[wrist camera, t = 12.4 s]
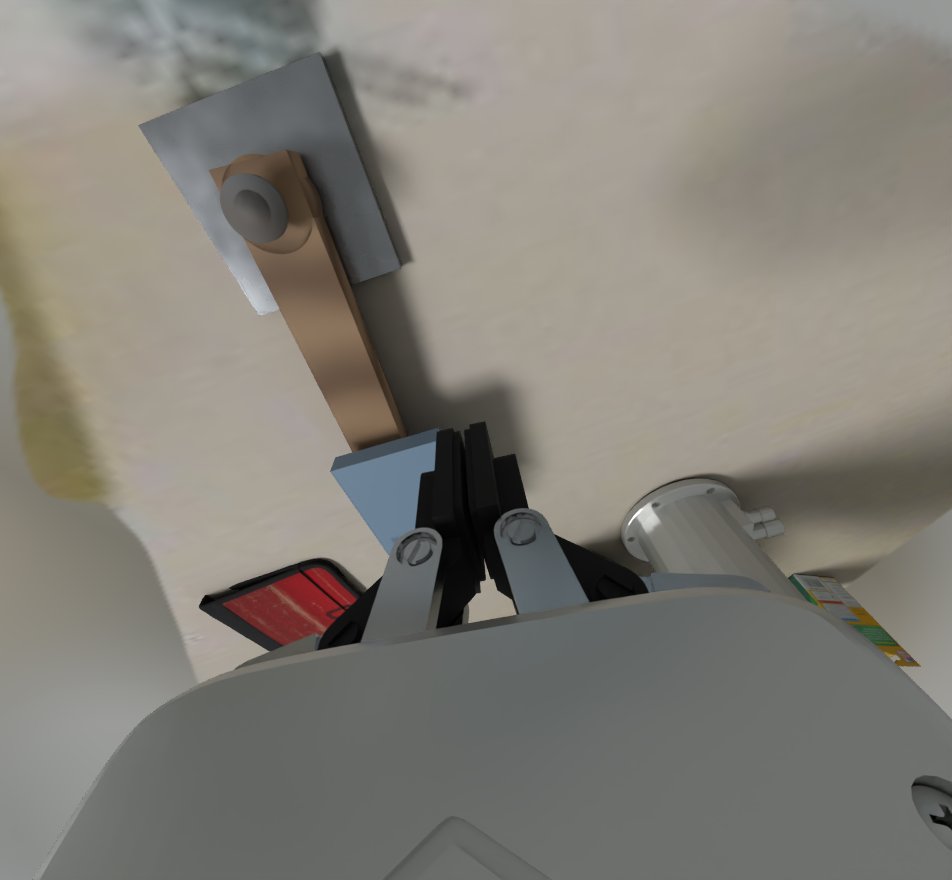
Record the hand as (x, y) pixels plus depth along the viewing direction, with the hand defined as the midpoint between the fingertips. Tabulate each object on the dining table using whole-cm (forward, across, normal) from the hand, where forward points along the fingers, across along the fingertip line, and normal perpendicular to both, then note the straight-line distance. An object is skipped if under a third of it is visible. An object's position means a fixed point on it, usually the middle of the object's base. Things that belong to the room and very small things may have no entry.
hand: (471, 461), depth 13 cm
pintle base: (+16, +8, -9) cm, 20 cm away
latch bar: (+15, +8, 0) cm, 18 cm away
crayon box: (+19, -39, +47) cm, 64 cm away
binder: (+18, +26, +32) cm, 45 cm away
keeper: (+17, +7, +12) cm, 22 cm away
